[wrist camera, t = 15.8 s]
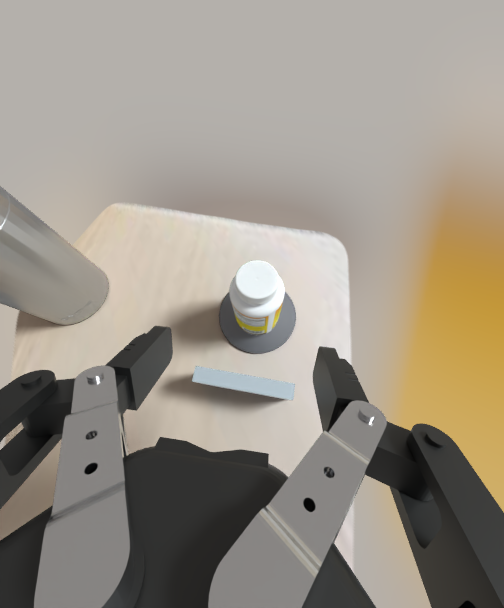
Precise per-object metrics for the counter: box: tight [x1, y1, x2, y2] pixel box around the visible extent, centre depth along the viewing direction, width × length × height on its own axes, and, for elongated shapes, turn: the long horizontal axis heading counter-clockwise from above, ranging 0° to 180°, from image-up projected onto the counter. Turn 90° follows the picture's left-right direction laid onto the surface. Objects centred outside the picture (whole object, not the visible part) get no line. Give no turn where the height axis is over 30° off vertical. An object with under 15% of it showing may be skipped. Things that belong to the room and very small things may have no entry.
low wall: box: [192, 366, 295, 400], centre depth 25 cm, size 10×2×5 cm, turn 80°
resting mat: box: [219, 292, 296, 353], centre depth 30 cm, size 10×10×1 cm
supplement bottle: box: [229, 260, 285, 335], centre depth 25 cm, size 6×6×10 cm
